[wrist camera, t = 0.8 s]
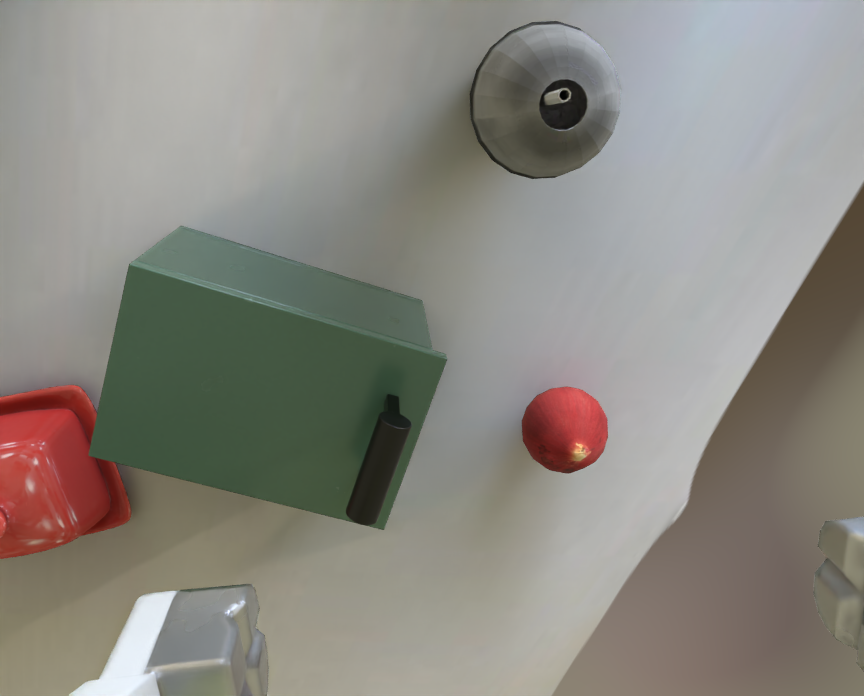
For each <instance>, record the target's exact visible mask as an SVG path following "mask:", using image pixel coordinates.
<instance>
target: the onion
mask: <svg viewBox="0 0 864 696" xmlns="http://www.w3.org/2000/svg"><path fill="white" fill-rule="evenodd" d="M522 435H523V442H524V444H525V446H526V448H527V449H528V451H529V453H530V455H531V456H532V458H533V459H534V460H536V461H537V462H538V463H540V464H541V465H543V466H544V467H545V468H547V469H549V470H551V471H556V472H561V473H572V472H575V471H578V470H580V469H583V468H585V467H587V466H589V465H590V464H592V463H594V462H595V461H596V460H597V459H598V458H599V456H600V455H601V454H602V453H603V451H604V448H605V444H606V441H607V438H608V427H607V417H606V415H605V413H604V411H603V410H602V408H601V406H600V404H599V403H598V401H597V400H596V399H594V398H593V397H592V396H590V395H589V394H587V393H586V392H584V391H583V390H580V389H576V388H571V387H561V388H552V389H549V390H547V391H545V392H543V393H541V394H539V395H537V396H536V397H535V398H534V400H533V401H532V402H531V403H530V404H529V405H528V407H527V408H526V411H525V414H524V416H523V419H522Z"/></svg>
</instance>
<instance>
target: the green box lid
mask: <svg viewBox="0 0 864 696" xmlns="http://www.w3.org/2000/svg"><path fill="white" fill-rule="evenodd" d="M446 361H447V356H446V354H444V353H441V352H437V351H434V350H431V349H427V348H424V347H421V346H417V345H414V344H411V343H407V342H404V341H401V340H397V339H394V338H391V337H387V336H384V335H381V334H377V333H374V332H371V331H367V330H364V329H361V328H357V327H354V326H351V325H347V324H344V323H341V322H337V321H334V320H331V319H327V318H324V317H321V316H317V315H314V314H310V313H307V312H304V311H300V310H297V309H294V308H290V307H287V306H284V305H280V304H277V303H274V302H270V301H267V300H264V299H260V298H257V297H254V296H250V295H247V294H244V293H240V292H237V291H234V290H230V289H227V288H224V287H220V286H217V285H214V284H210V283H207V282H204V281H200V280H197V279H194V278H190V277H187V276H184V275H180V274H177V273H174V272H170V271H167V270H163V269H160V268H157V267H153V266H150V265H147V264H143V263H140V262H137V261H133V262H132V263H130V264H129V267H128V272H127V276H126V281H125V286H124V290H123V295H122V300H121V304H120V309H119V314H118V318H117V323H116V328H115V332H114V337H113V342H112V346H111V351H110V356H109V360H108V365H107V370H106V374H105V379H104V384H103V388H102V393H101V398H100V402H99V407H98V412H97V416H96V421H95V426H94V430H93V435H92V440H91V444H90V449H89V454H88V455H89V456H91V457H95V458H99V459H103V460H107V461H111V462H115V463H119V464H123V465H127V466H131V467H135V468H139V469H143V470H147V471H151V472H155V473H159V474H162V475H166V476H170V477H174V478H178V479H182V480H186V481H190V482H194V483H198V484H202V485H206V486H210V487H214V488H218V489H222V490H226V491H230V492H234V493H238V494H242V495H246V496H250V497H254V498H258V499H262V500H266V501H270V502H274V503H278V504H282V505H286V506H290V507H294V508H298V509H302V510H306V511H310V512H314V513H318V514H322V515H326V516H330V517H334V518H338V519H342V520H346V521H350V522H354V523H358V524H361V525H366V526H370V527H374V528H378V529H382V530H384V528H385V526H386V523H387V520H388V517H389V515H390V512H391V509H392V507H393V504H394V501H395V499H396V496H397V493H398V491H399V488H400V485H401V482H402V480H403V477H404V474H405V472H406V469H407V466H408V464H409V461H410V458H411V456H412V453H413V450H414V447H415V445H416V442H417V439H418V437H419V434H420V431H421V429H422V426H423V423H424V420H425V418H426V415H427V412H428V410H429V407H430V404H431V402H432V399H433V396H434V394H435V391H436V388H437V385H438V383H439V380H440V377H441V375H442V372H443V369H444V367H445V364H446Z"/></svg>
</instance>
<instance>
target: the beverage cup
mask: <svg viewBox="0 0 864 696" xmlns="http://www.w3.org/2000/svg"><path fill="white" fill-rule="evenodd" d="M620 97H621V87H620V83H619V79H618V76H617V72H616V68H615V65H614V64H613V62H612V61H611V59H610V58H609V56H608V55H607V53H606V51H605V50H604V48H603V47H602V46H601V45H600V44H599V43H598V42H596V41H595V40H594V39H593V38H591V37H590V36H589V35H587V34H586V33H585V32H583V31H582V30H581V29H580V28H577V27H574V26H570V25H567V24H564V23H561V22H558V21H549V22H532V23H529V24H527V25H524V26H522V27H519V28H517V29H514V30H512V31H510V32H508V33H507V34H506V35H505V36H504V37H502V38H501V39H500V40H499V41H498V42H497V43H495V44H494V45H493V46H492V47H491V48H490V49H489V51H488V52H487V54H486V55H485V57H484V59H483V60H482V62H481V63H480V65H479V66H478V68H477V70H476V74H475V77H474V81H473V84H472V88H471V92H470V117H471V121H472V124H473V127H474V130H475V133H476V136H477V139H478V142H479V143H480V144H481V146H482V147H483V148H484V150H485V151H486V152H487V154H488V155H489V156H490V158H491V159H492V160H493V161H494V162H496V163H497V164H499V165H500V166H502V167H503V168H504V169H506V170H507V171H509V172H510V173H513V174H517V175H520V176H524V177H528V178H531V179H538V178H555V177H557V176H560V175H563V174H565V173H568V172H570V171H573V170H575V169H578V168H580V167H582V166H583V165H584V164H586V163H587V162H588V161H589V160H591V159H592V158H593V157H594V156H596V155H597V154H598V153H599V152H600V151H601V149H602V148H603V146H604V145H605V144H606V142H607V141H608V139H609V138H610V137H611V135H612V133H613V130H614V128H615V125H616V122H617V119H618V116H619V113H620Z"/></svg>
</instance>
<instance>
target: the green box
mask: <svg viewBox="0 0 864 696" xmlns="http://www.w3.org/2000/svg"><path fill="white" fill-rule="evenodd" d="M135 261H137V262H140V263H143V264H147V265H150V266H153V267H157V268H160V269H163V270H167V271H170V272H174V273H177V274H180V275H184V276H187V277H190V278H194V279H197V280H200V281H204V282H207V283H210V284H214V285H217V286H220V287H224V288H227V289H230V290H234V291H237V292H240V293H244V294H247V295H250V296H254V297H257V298H260V299H264V300H267V301H270V302H274V303H277V304H280V305H284V306H287V307H290V308H294V309H297V310H300V311H304V312H307V313H310V314H314V315H317V316H321V317H324V318H327V319H331V320H334V321H337V322H341V323H344V324H347V325H351V326H354V327H357V328H361V329H364V330H367V331H371V332H374V333H377V334H381V335H384V336H387V337H391V338H394V339H397V340H401V341H404V342H407V343H411V344H414V345H417V346H421V347H424V348H427V349H431V350H432V345H431V340H430V336H429V331H428V326H427V321H426V316H425V311H424V306H423V301H422V300H419V299H416V298H413V297H409V296H406V295H403V294H400V293H396V292H393V291H390V290H387V289H384V288H380V287H377V286H374V285H371V284H368V283H364V282H361V281H358V280H355V279H351V278H348V277H345V276H342V275H339V274H335V273H332V272H329V271H326V270H322V269H319V268H316V267H313V266H310V265H306V264H303V263H300V262H297V261H294V260H290V259H287V258H284V257H281V256H277V255H274V254H271V253H268V252H265V251H261V250H258V249H255V248H252V247H249V246H245V245H242V244H239V243H236V242H232V241H229V240H226V239H223V238H220V237H216V236H213V235H210V234H207V233H204V232H200V231H197V230H194V229H191V228H187V227H184V226H180V227H179V228H177V229H176V230H175V231H173V232H172V233H171V234H169V235H168V236H167V237H165V238H164V239H163V240H161V241H160V242H159V243H157V244H156V245H155V246H153V247H152V248H151V249H149V250H148V251H146V252H145V253H144V254H142V255H141V256H140V257H138V258H137V259H136V260H135Z"/></svg>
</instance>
